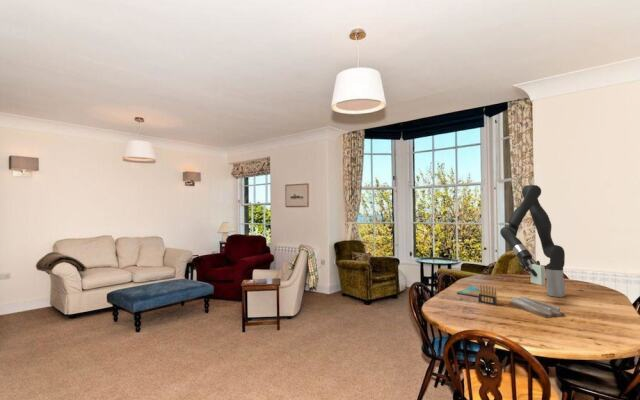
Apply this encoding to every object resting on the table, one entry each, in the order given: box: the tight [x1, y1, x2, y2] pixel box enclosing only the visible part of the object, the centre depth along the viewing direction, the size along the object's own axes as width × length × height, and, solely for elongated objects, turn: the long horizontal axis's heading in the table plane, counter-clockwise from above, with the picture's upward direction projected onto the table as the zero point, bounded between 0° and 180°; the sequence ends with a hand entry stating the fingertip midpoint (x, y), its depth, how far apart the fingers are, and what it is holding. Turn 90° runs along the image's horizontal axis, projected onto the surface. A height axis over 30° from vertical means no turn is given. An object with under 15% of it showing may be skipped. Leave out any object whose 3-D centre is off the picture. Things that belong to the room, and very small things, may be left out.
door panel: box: [529, 264, 546, 286], centre depth 212 cm, size 3×8×11 cm, turn 12°
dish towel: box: [456, 285, 494, 299], centre depth 240 cm, size 17×23×2 cm
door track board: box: [508, 295, 566, 319], centre depth 199 cm, size 12×26×4 cm, turn 12°
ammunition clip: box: [478, 282, 498, 306], centre depth 214 cm, size 11×2×12 cm, turn 39°
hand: (538, 275), depth 211 cm, fingers closed on door panel, 2 cm apart
